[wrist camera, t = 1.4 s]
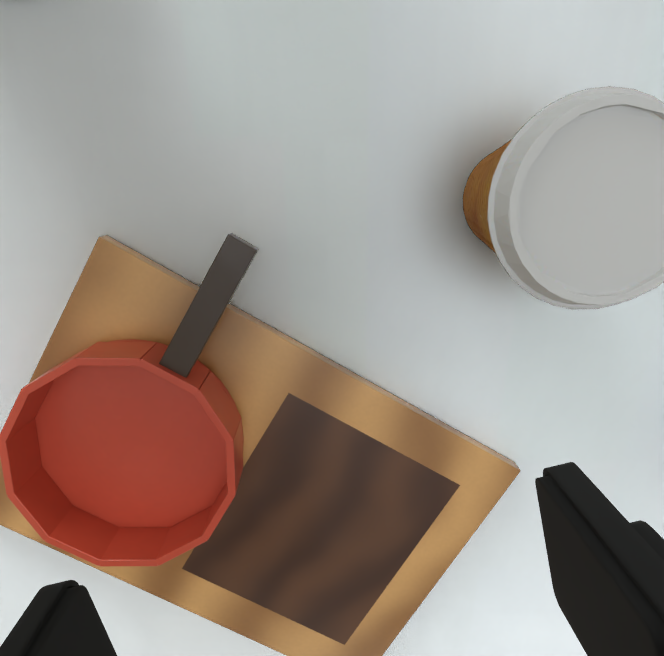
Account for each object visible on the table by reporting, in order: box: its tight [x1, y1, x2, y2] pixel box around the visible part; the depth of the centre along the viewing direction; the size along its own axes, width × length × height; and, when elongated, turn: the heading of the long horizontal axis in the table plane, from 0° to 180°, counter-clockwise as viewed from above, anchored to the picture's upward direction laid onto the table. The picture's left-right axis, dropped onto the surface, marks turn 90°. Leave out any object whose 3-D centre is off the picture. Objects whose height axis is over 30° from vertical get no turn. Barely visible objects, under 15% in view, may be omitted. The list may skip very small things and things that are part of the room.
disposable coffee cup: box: [463, 86, 664, 309], centre depth 28 cm, size 10×10×12 cm
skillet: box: [0, 233, 258, 567], centre depth 33 cm, size 14×23×4 cm, turn 149°
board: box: [0, 235, 520, 656], centre depth 38 cm, size 32×22×1 cm
